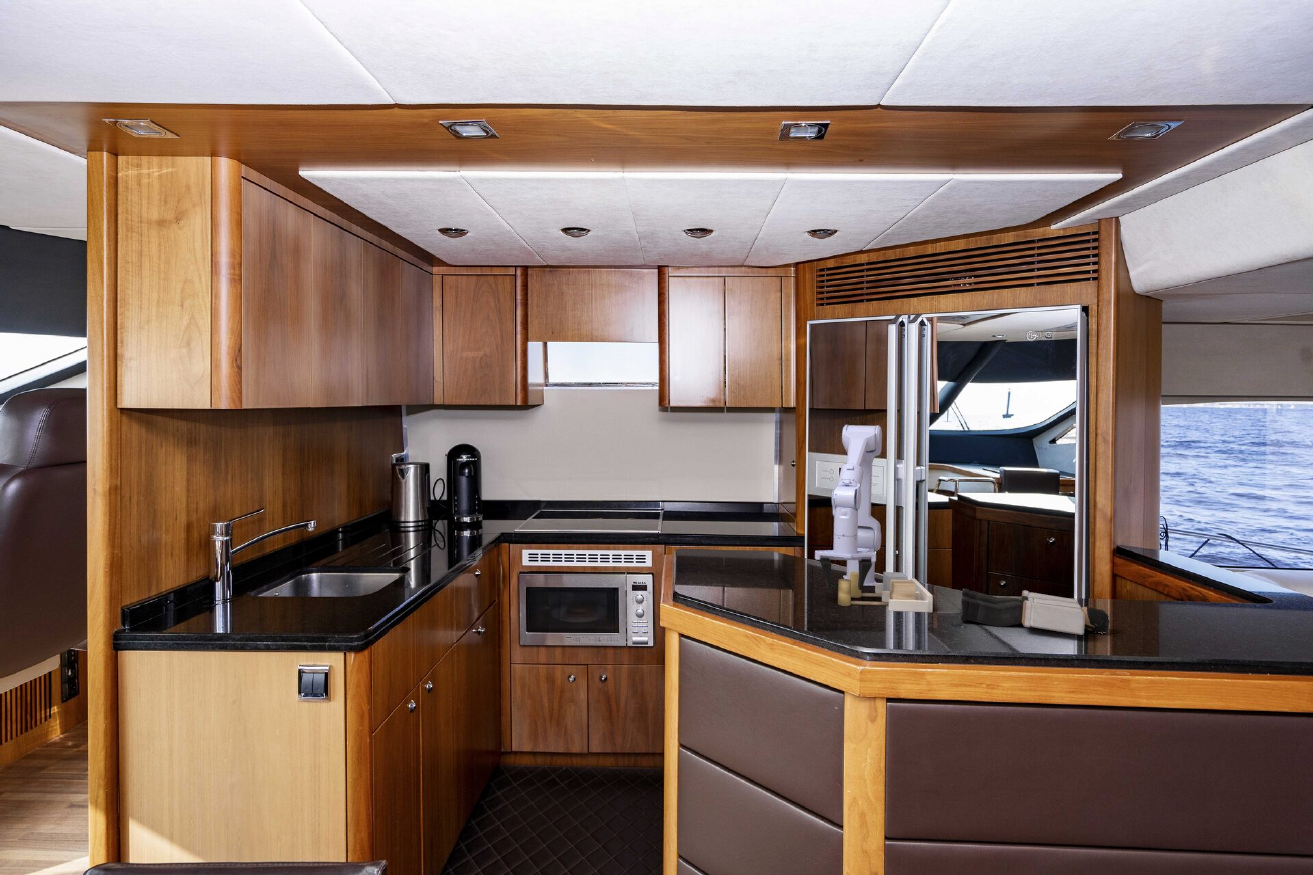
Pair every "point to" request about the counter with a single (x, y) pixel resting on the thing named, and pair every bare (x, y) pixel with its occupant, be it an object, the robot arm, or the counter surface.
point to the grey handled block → (886, 583)
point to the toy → (1033, 612)
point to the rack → (920, 603)
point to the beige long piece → (897, 592)
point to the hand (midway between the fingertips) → (844, 588)
